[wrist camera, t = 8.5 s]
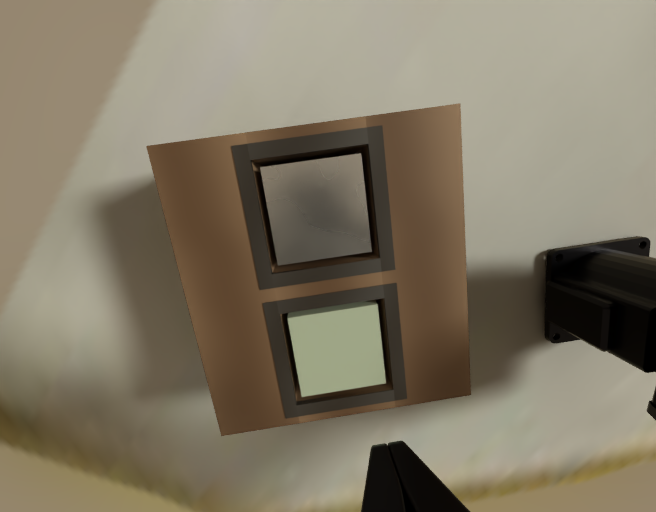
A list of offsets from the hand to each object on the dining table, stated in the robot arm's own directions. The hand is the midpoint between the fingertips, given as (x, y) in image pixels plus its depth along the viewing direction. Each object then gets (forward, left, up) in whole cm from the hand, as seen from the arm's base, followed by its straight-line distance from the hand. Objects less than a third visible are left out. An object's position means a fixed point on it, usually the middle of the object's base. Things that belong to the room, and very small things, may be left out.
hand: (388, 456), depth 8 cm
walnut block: (+1, -3, -12) cm, 12 cm away
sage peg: (+1, 0, -12) cm, 12 cm away
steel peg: (+1, -6, -12) cm, 13 cm away
